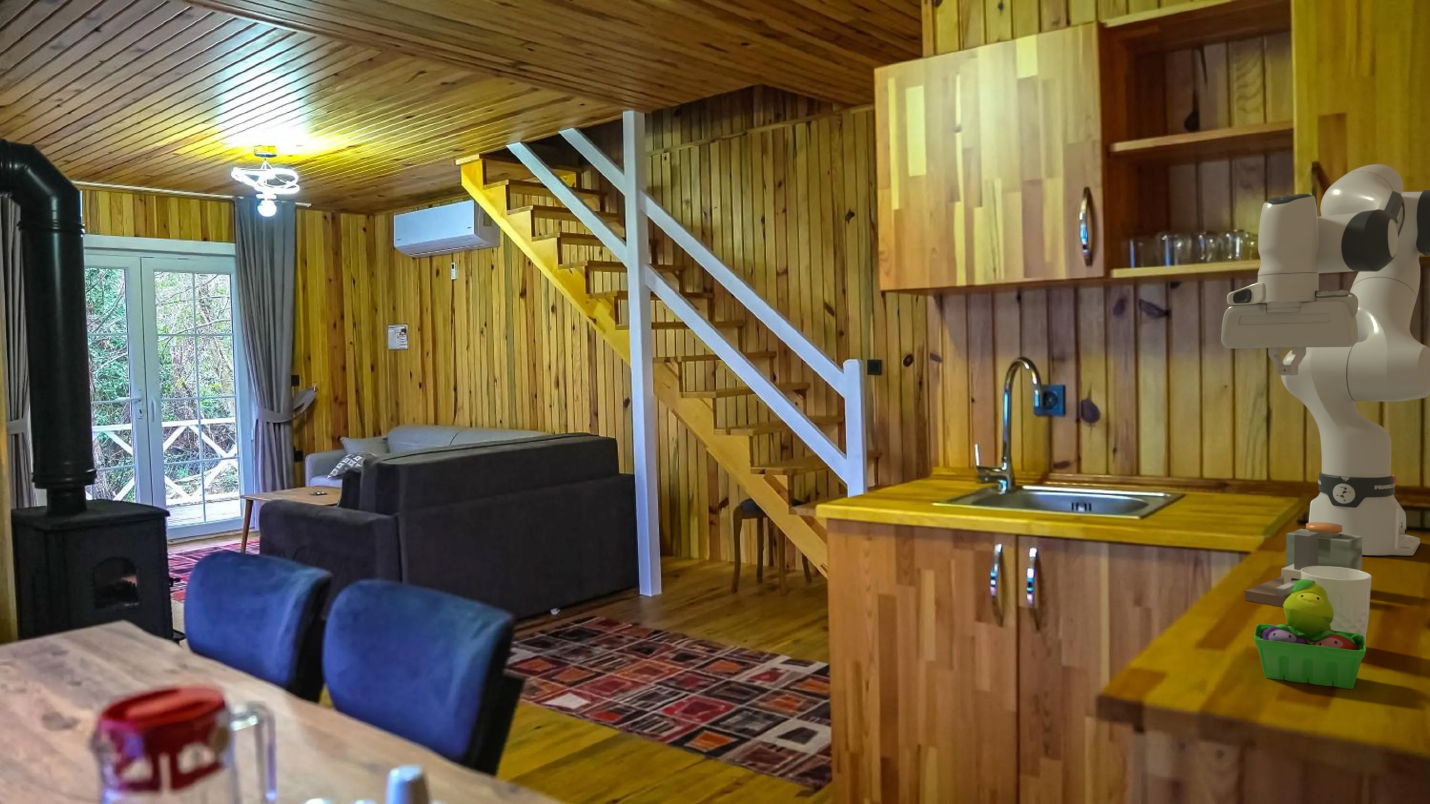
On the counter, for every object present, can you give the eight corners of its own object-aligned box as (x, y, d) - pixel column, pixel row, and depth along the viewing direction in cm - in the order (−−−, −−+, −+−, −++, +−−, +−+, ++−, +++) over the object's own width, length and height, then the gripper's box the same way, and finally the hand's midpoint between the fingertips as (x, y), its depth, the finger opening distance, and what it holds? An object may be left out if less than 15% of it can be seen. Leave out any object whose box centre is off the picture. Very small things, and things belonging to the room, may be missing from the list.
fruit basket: (1252, 679, 120) (1253, 586, 119) (1257, 659, 128) (1258, 571, 127) (1365, 695, 114) (1367, 597, 113) (1363, 672, 122) (1365, 581, 121)
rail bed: (1297, 578, 168) (1297, 528, 167) (1365, 589, 160) (1365, 536, 160) (1245, 600, 155) (1245, 546, 155) (1315, 612, 148) (1316, 555, 147)
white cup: (1381, 658, 127) (1382, 580, 126) (1313, 656, 128) (1313, 579, 128) (1354, 640, 134) (1356, 566, 134) (1290, 638, 136) (1291, 565, 135)
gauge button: (1312, 545, 165) (1313, 521, 165) (1346, 549, 161) (1347, 525, 161) (1300, 549, 162) (1300, 525, 162) (1335, 554, 158) (1335, 529, 158)
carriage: (1296, 577, 161) (1297, 529, 161) (1330, 582, 158) (1331, 533, 157) (1281, 583, 158) (1281, 534, 157) (1315, 589, 154) (1316, 538, 153)
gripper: (1365, 289, 160) (1364, 375, 161) (1233, 295, 176) (1233, 374, 177) (1350, 288, 156) (1349, 376, 157) (1217, 295, 172) (1216, 375, 173)
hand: (1286, 375), depth 167 cm, fingers closed
